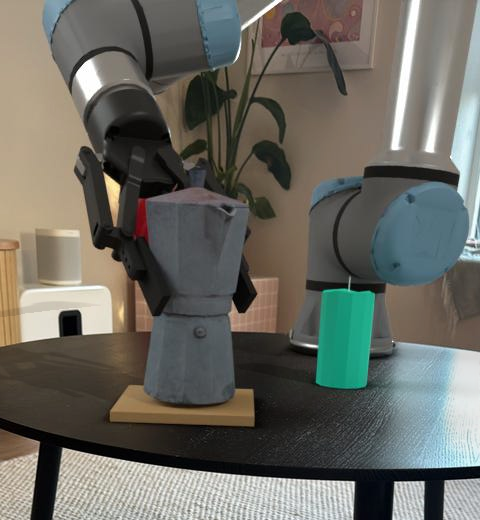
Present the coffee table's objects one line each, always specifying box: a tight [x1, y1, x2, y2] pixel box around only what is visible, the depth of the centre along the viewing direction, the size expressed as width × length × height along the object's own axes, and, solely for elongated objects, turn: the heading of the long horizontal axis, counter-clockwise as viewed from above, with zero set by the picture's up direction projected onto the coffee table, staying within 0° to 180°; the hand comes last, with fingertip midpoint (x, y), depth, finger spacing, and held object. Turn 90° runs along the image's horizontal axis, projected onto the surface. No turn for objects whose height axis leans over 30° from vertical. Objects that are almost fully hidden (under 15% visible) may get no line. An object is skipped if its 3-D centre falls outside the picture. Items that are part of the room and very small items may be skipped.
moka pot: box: [143, 167, 250, 405], centre depth 69 cm, size 10×15×20 cm, turn 34°
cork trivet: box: [109, 384, 255, 428], centre depth 73 cm, size 13×12×1 cm
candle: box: [315, 277, 375, 390], centre depth 86 cm, size 6×6×12 cm
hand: (206, 304), depth 67 cm, fingers closed on moka pot, 8 cm apart
